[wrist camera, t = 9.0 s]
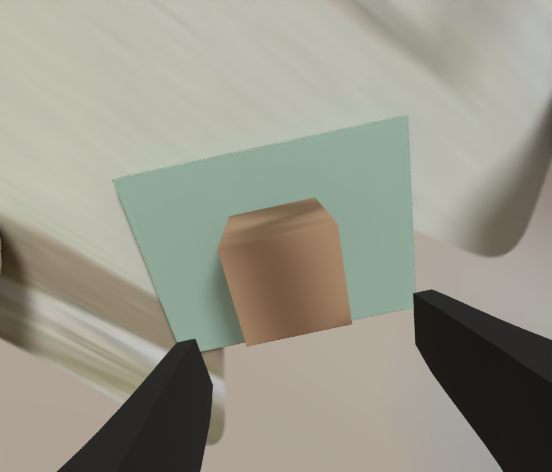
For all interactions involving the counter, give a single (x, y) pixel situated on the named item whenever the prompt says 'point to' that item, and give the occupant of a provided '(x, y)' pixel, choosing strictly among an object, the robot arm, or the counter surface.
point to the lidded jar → (0, 254)
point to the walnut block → (285, 271)
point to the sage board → (267, 193)
